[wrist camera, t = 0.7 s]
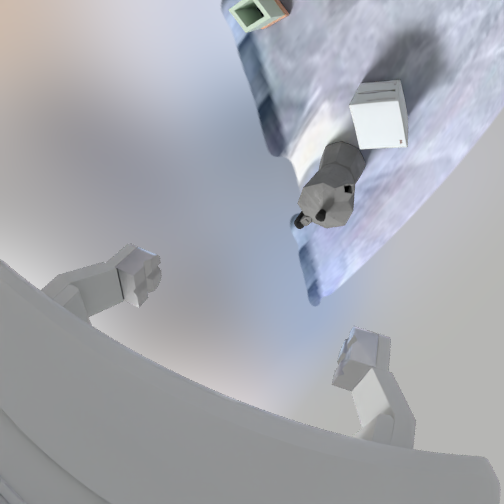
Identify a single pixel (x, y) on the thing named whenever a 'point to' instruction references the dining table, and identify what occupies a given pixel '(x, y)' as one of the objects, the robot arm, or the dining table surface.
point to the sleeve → (258, 13)
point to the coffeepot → (331, 188)
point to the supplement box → (380, 115)
